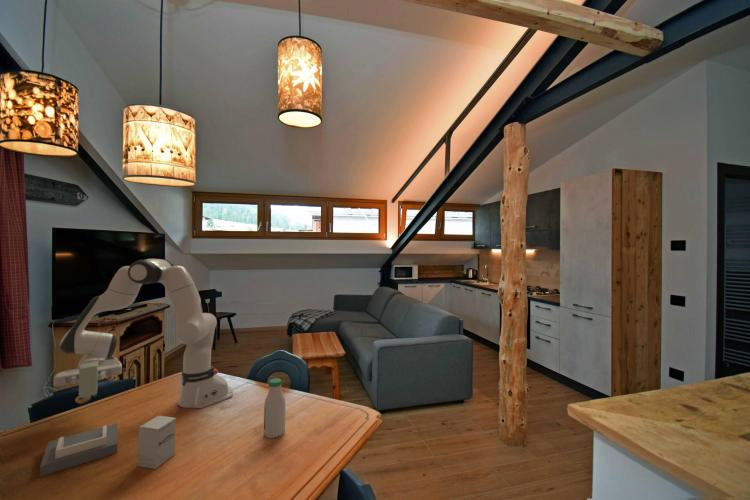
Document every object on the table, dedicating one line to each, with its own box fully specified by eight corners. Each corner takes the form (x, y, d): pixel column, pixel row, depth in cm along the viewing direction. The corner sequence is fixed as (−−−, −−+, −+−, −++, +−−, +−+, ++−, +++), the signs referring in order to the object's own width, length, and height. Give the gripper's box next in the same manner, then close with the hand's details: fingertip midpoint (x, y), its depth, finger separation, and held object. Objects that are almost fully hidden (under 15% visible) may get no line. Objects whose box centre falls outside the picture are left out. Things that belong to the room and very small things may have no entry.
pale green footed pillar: (97, 391, 123) (97, 361, 124) (96, 396, 119) (97, 365, 119) (80, 395, 120) (80, 364, 120) (78, 400, 116) (79, 368, 116)
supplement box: (156, 469, 97) (157, 429, 97) (136, 466, 98) (137, 426, 98) (175, 454, 104) (176, 417, 104) (157, 451, 105) (158, 414, 105)
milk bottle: (289, 430, 119) (290, 378, 119) (274, 441, 112) (275, 386, 112) (273, 425, 122) (274, 374, 123) (259, 435, 115) (260, 382, 116)
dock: (117, 431, 117) (117, 416, 117) (117, 452, 104) (117, 436, 105) (48, 450, 105) (49, 434, 105) (39, 476, 93) (40, 458, 93)
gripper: (55, 367, 123) (49, 378, 112) (121, 356, 136) (122, 365, 125) (55, 383, 123) (49, 395, 112) (121, 370, 136) (122, 381, 125)
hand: (88, 379), depth 119 cm, fingers closed on pale green footed pillar, 5 cm apart
